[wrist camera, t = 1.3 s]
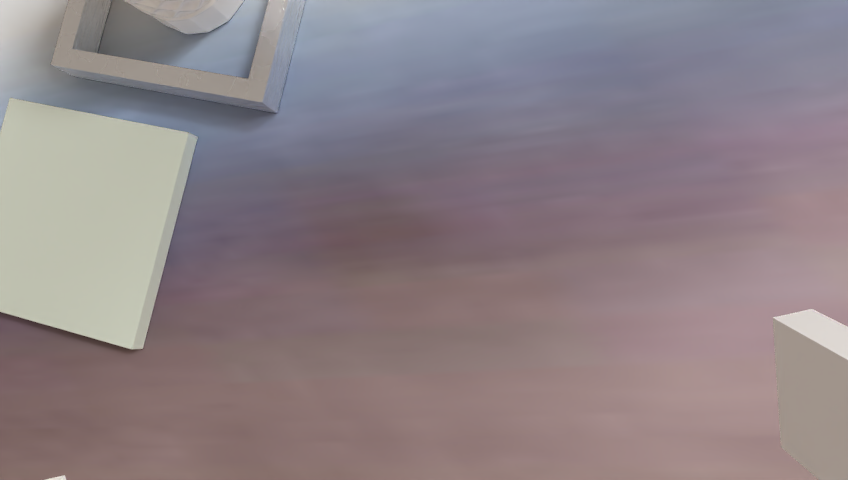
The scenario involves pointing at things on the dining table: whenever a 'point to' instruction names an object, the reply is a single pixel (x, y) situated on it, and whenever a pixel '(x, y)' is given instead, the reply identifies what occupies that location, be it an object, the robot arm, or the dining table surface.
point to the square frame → (255, 92)
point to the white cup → (189, 13)
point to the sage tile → (87, 218)
